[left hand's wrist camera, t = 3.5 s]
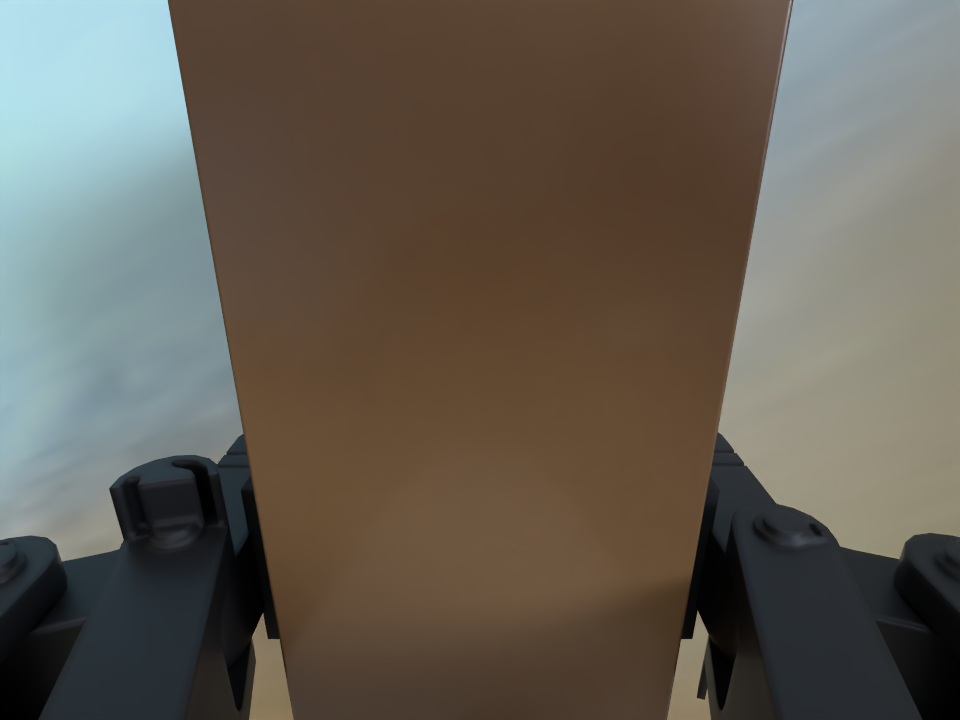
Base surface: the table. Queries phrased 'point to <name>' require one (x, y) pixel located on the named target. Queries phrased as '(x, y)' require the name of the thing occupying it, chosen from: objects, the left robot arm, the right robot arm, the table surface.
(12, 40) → the table surface
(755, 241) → the table surface
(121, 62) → the table surface
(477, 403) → the post
